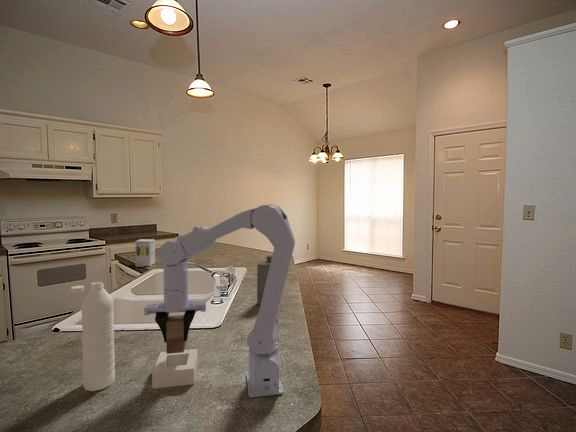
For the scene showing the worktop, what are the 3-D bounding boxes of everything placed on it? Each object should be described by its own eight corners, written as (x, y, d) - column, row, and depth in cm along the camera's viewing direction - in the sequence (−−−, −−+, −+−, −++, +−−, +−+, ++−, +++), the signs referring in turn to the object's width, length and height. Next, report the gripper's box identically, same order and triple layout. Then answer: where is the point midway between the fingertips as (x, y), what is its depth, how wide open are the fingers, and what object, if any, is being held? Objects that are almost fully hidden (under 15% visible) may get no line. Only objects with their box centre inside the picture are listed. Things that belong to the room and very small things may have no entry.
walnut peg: (183, 352, 74) (183, 321, 74) (166, 353, 73) (166, 322, 73) (185, 344, 78) (185, 314, 78) (169, 345, 77) (169, 315, 77)
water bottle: (105, 372, 77) (103, 277, 75) (120, 380, 73) (118, 281, 72) (67, 391, 69) (63, 286, 68) (81, 401, 66) (78, 290, 64)
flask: (266, 306, 124) (267, 259, 123) (254, 304, 127) (255, 258, 126) (283, 296, 138) (283, 253, 136) (272, 294, 140) (272, 252, 139)
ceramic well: (194, 384, 72) (194, 368, 72) (152, 388, 70) (152, 372, 70) (197, 362, 82) (197, 348, 81) (160, 366, 80) (160, 352, 79)
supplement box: (134, 267, 190) (134, 241, 189) (140, 263, 199) (140, 238, 198) (150, 266, 191) (150, 241, 190) (155, 263, 200) (155, 239, 199)
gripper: (206, 281, 80) (206, 330, 81) (148, 284, 77) (149, 335, 78) (204, 289, 73) (205, 343, 74) (141, 292, 70) (142, 348, 71)
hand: (176, 339), depth 75 cm, fingers closed on walnut peg, 4 cm apart
